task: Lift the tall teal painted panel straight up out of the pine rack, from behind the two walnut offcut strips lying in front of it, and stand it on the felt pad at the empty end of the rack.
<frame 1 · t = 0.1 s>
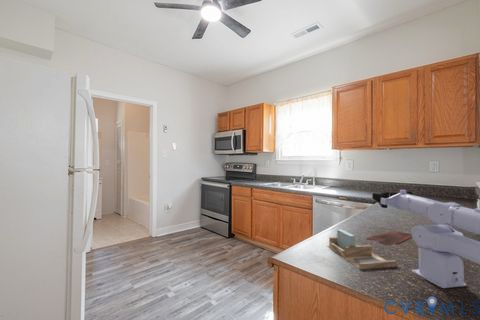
hand: (382, 195, 84), 22 cm above the worktop, tool horizontal, fingers open, 7 cm apart
wooden tablet: (391, 239, 99), on the worktop
panel: (345, 250, 84), point 1 cm above the worktop, touching rack
felt pad: (369, 263, 74), resting on rack
rack: (357, 256, 80), on the worktop
offcut B: (354, 248, 86), point 1 cm above the worktop, touching rack
offcut A: (361, 252, 83), point 1 cm above the worktop, touching rack
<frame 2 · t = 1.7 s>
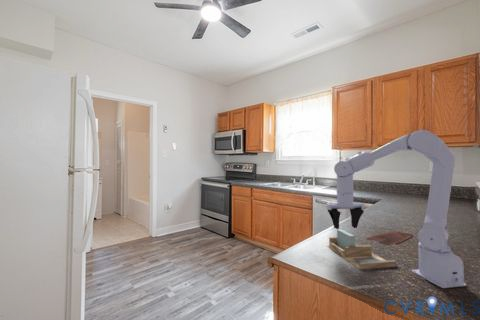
hand: (345, 227, 84), 9 cm above the worktop, tool pointing down, fingers open, 7 cm apart
nothing on the worktop moved.
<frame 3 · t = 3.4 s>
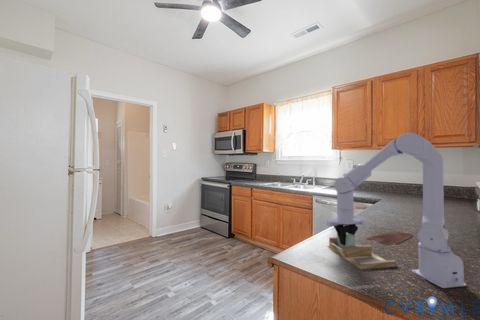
hand: (345, 244, 84), 3 cm above the worktop, tool pointing down, fingers closed on panel, 2 cm apart
panel: (345, 250, 84), point 1 cm above the worktop, touching gripper, rack
everything else where it was.
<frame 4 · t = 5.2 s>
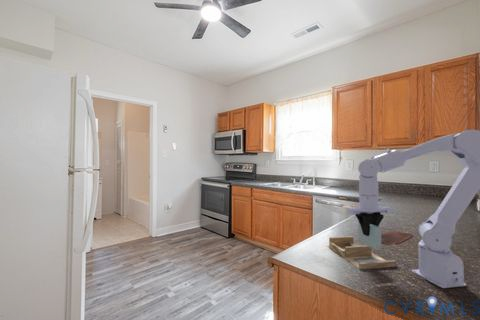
hand: (369, 234, 74), 10 cm above the worktop, tool pointing down, fingers closed on panel
panel: (369, 244, 74), point 6 cm above the worktop, touching gripper
everything else where it was.
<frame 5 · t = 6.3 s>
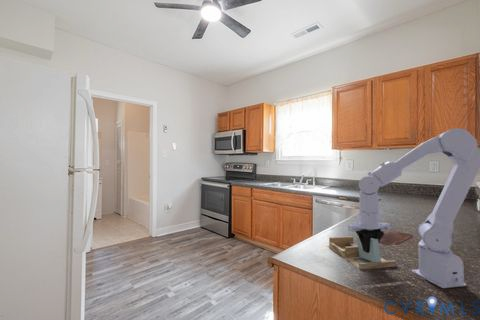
hand: (369, 251, 74), 4 cm above the worktop, tool pointing down, fingers closed on panel, 2 cm apart
panel: (369, 259, 74), point 2 cm above the worktop, tilted 12°, touching gripper, rack
everything else where it was.
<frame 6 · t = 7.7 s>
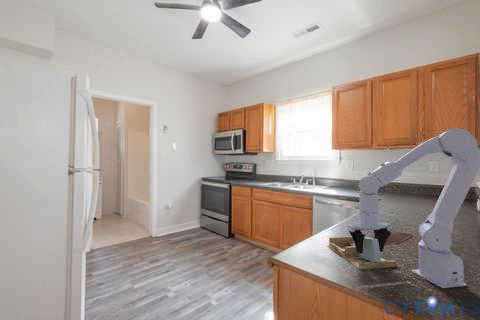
hand: (369, 251, 74), 4 cm above the worktop, tool pointing down, fingers open, 7 cm apart
panel: (369, 259, 74), point 2 cm above the worktop, tilted 12°, touching rack
everything else where it was.
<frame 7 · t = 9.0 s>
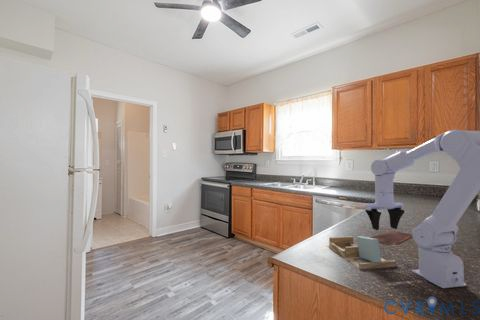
hand: (384, 228, 81), 10 cm above the worktop, tool pointing down, fingers open, 7 cm apart
nothing on the worktop moved.
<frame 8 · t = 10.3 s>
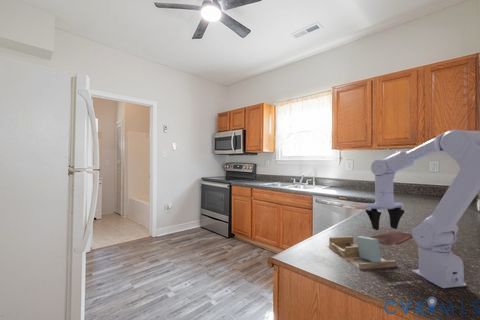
hand: (384, 228, 81), 10 cm above the worktop, tool pointing down, fingers open, 7 cm apart
nothing on the worktop moved.
at the end: panel inside the target area on the felt pad (0.1 cm from its centre), point 1.6 cm above the felt pad's base; panel tilted 12°; panel moved 10.4 cm from its start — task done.
